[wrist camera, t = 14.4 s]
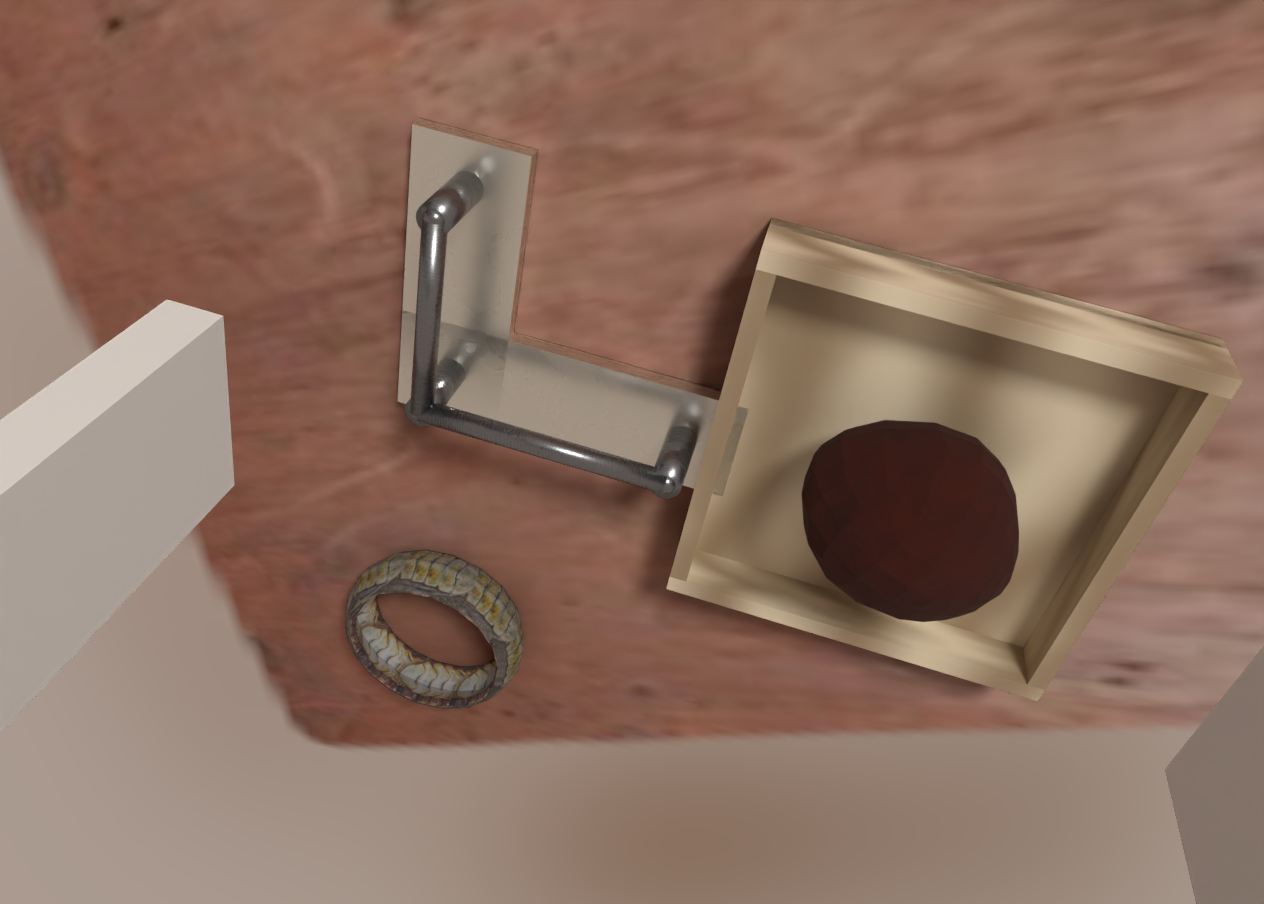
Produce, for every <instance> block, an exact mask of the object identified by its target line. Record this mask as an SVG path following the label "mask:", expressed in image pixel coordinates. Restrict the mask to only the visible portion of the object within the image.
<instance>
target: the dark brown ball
mask: <svg viewBox="0 0 1264 904" xmlns="http://www.w3.org/2000/svg"><path fill="white" fill-rule="evenodd" d="M801 494H802V508H803V523H804V529H805V533H806V538H807V542H808V545H809V547H810V549H811V551H812V553H813V554H814V556H815V558H816V560H817V562H818V564H819V565H820V567H821V569H822V571H823V573H824V575H825V577H826V578H827V579H828V580H829V581H831V582H832V583H833V584H834V585H836V586H837V587H838V588H839V589H841V590H842V591H843V592H845V593H846V594H847V595H848V596H850V597H851V598H852V599H853V600H855V601H856V602H857V603H859V604H862V605H864V606H867V607H869V608H872V609H874V610H877V611H879V612H882V613H884V614H887V615H889V616H892V617H894V618H897V619H900V620H909V621H918V622H930V621H942V620H948V619H952V618H956V617H959V616H963V615H966V614H969V613H972V612H975V611H976V610H977V609H979V608H980V607H982V606H983V605H985V604H986V603H988V602H989V601H991V600H993V599H994V598H996V597H997V596H999V595H1001V593H1002V592H1003V591H1004V589H1005V588H1006V586H1007V585H1008V584H1009V582H1010V580H1011V577H1012V574H1013V571H1014V568H1015V564H1016V560H1017V557H1018V553H1019V525H1018V513H1017V503H1016V494H1015V491H1014V489H1013V486H1012V484H1011V481H1010V479H1009V476H1008V474H1007V471H1006V469H1005V468H1004V466H1003V465H1002V463H1001V462H1000V461H999V459H998V458H997V457H996V456H995V455H994V454H993V453H992V452H991V451H990V450H989V449H988V448H987V447H986V446H985V445H984V444H983V443H982V442H981V441H980V440H979V439H978V438H976V437H973V436H971V435H968V434H965V433H962V432H960V431H957V430H954V429H951V428H949V427H946V426H943V425H941V424H938V423H934V422H915V421H896V420H882V421H878V422H874V423H870V424H866V425H861V426H857V427H853V428H850V429H847V430H844V431H843V432H841V433H839V434H838V435H836V436H835V437H833V438H832V439H830V440H828V441H827V442H825V443H824V444H822V445H821V446H820V447H819V449H818V450H817V451H816V452H815V454H814V455H813V458H812V460H811V463H810V465H809V468H808V470H807V473H806V476H805V478H804V483H803V488H802V493H801Z"/></svg>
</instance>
